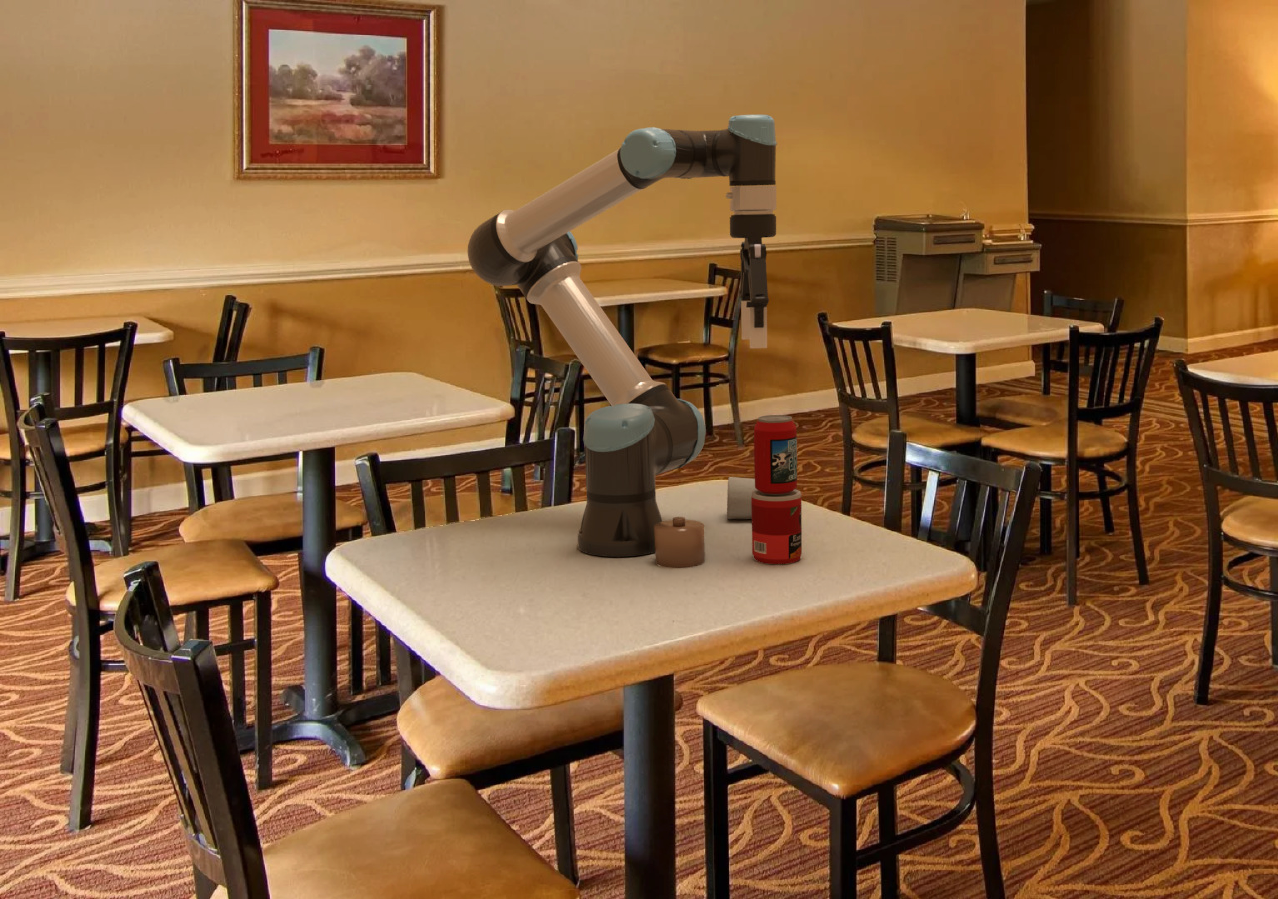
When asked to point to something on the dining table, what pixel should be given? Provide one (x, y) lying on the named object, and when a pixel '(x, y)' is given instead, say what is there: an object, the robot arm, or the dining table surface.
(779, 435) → the beverage can
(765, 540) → the canned food
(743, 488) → the ceramic mug
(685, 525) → the sugar bowl
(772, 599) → the dining table surface
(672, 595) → the dining table surface
